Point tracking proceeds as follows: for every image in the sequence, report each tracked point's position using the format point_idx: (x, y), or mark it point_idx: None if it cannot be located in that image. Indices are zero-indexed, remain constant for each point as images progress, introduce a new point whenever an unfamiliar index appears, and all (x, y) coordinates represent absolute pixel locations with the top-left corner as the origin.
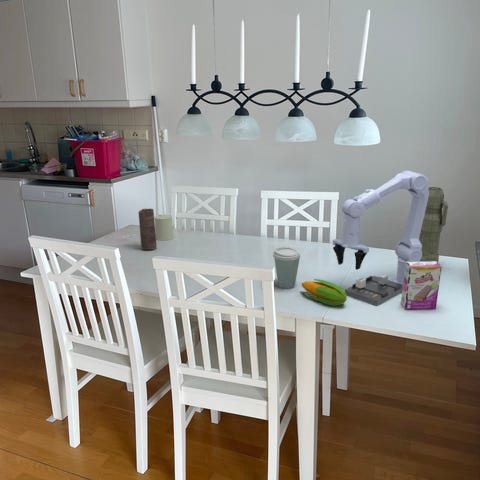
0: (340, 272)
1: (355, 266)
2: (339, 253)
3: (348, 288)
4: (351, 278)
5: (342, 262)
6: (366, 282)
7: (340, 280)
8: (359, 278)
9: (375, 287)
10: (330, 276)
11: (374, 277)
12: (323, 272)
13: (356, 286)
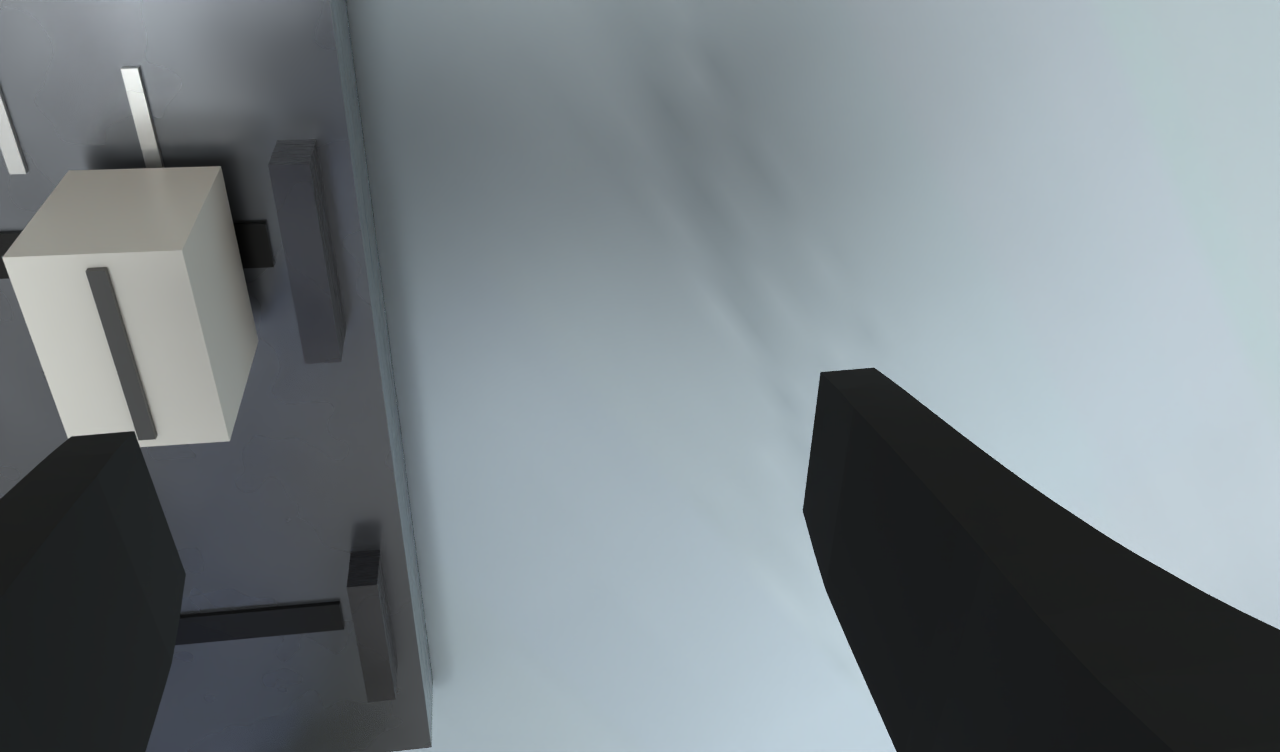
0: None
1: (83, 491)
2: (1050, 711)
3: (311, 5)
4: (723, 534)
5: (816, 525)
6: (309, 508)
7: (821, 367)
8: (207, 378)
9: (3, 455)
10: (1039, 377)
11: (377, 715)
12: (1200, 417)
13: (197, 173)
